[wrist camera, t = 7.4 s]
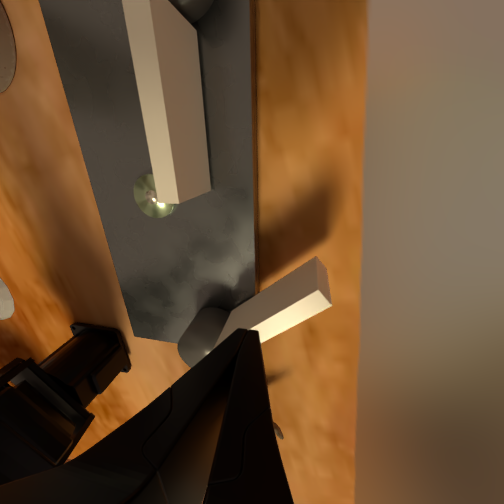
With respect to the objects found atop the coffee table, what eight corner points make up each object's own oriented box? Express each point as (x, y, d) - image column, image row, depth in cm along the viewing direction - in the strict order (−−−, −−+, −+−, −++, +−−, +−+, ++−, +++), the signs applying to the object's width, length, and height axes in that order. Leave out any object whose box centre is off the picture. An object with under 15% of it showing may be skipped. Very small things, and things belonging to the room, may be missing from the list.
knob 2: (217, 353, 22) (197, 397, 18) (185, 321, 21) (157, 359, 18) (340, 284, 17) (349, 326, 13) (301, 238, 16) (299, 267, 12)
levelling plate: (143, 326, 26) (131, 339, 24) (45, -51, 14) (7, -79, 12) (259, 344, 23) (255, 360, 21) (253, -105, 12) (243, -152, 10)
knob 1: (132, -87, 11) (39, -210, 8) (217, -110, 11) (162, -265, 7) (173, 190, 17) (132, 202, 13) (233, 190, 16) (207, 204, 12)
